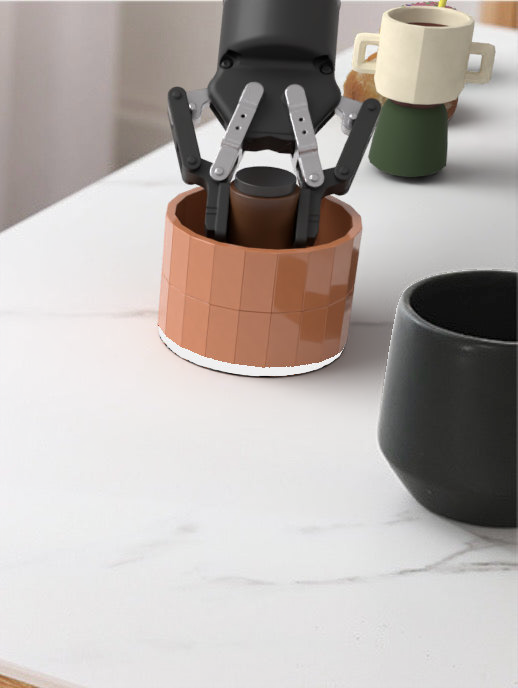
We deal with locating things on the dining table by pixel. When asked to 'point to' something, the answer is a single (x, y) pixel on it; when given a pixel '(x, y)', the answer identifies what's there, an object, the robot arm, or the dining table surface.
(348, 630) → the dining table surface
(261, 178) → the spice shaker
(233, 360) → the pot
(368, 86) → the bread roll
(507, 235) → the dining table surface
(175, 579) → the dining table surface
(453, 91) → the character mug
